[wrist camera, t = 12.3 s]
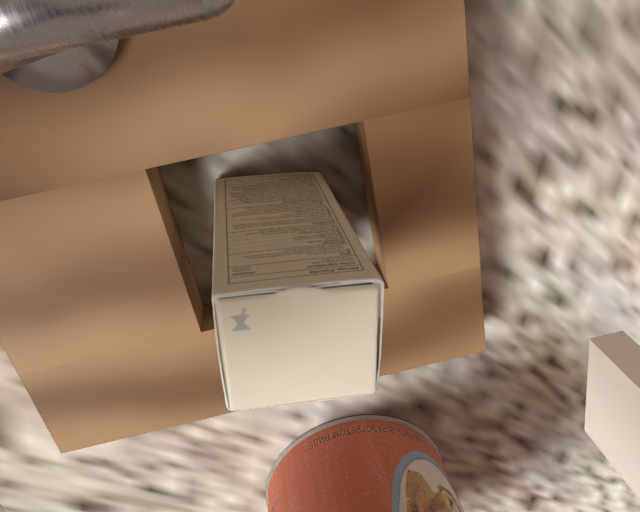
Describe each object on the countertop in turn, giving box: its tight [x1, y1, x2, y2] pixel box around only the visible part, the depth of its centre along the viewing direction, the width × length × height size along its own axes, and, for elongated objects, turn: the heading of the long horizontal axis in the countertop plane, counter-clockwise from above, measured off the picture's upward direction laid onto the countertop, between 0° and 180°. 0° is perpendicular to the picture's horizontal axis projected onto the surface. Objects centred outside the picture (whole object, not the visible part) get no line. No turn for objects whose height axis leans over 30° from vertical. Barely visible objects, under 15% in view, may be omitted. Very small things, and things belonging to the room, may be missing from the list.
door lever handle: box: [0, 0, 235, 93], centre depth 14 cm, size 5×9×12 cm, turn 101°
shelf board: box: [0, 0, 486, 453], centre depth 24 cm, size 23×22×2 cm
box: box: [211, 172, 385, 411], centre depth 21 cm, size 5×4×11 cm
